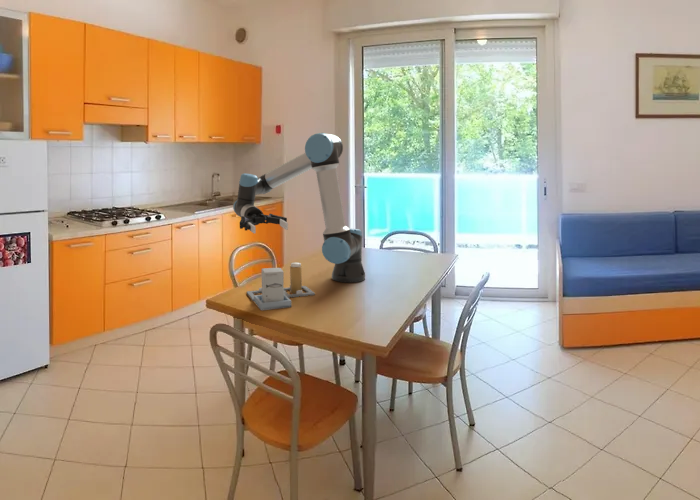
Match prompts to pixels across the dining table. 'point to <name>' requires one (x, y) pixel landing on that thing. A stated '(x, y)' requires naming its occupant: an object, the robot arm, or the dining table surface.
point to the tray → (272, 303)
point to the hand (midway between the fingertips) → (271, 228)
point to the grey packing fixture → (298, 293)
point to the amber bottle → (295, 277)
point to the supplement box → (272, 285)
